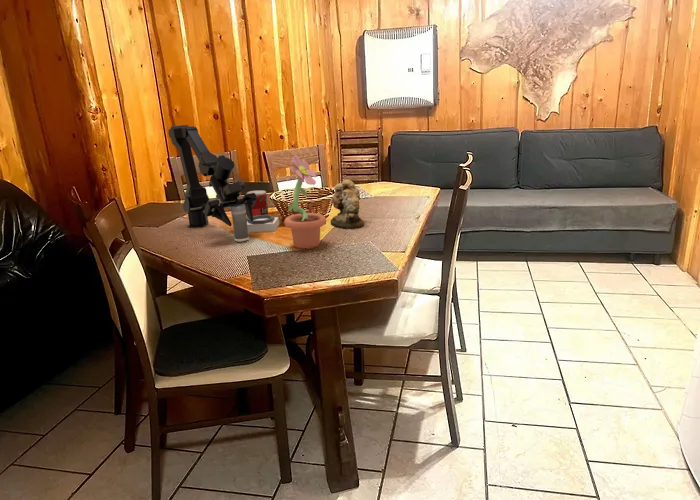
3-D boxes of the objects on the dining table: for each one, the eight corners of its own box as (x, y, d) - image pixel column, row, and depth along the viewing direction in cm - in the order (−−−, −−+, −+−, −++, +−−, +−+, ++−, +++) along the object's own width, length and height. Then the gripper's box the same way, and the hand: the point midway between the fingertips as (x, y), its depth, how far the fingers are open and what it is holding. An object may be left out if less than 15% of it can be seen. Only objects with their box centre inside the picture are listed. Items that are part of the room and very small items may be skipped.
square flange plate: (240, 232, 187) (238, 221, 185) (246, 225, 196) (245, 215, 195) (274, 231, 186) (273, 220, 185) (279, 224, 195) (278, 214, 194)
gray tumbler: (233, 243, 174) (228, 207, 170) (236, 239, 179) (232, 204, 175) (247, 242, 174) (243, 207, 170) (250, 238, 178) (246, 204, 174)
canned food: (265, 220, 203) (262, 193, 200) (246, 220, 205) (243, 194, 201) (271, 216, 210) (269, 190, 207) (253, 216, 212) (250, 190, 209)
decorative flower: (316, 254, 157) (309, 158, 148) (277, 251, 162) (268, 158, 153) (334, 240, 170) (328, 152, 161) (297, 238, 175) (290, 152, 166)
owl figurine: (323, 221, 198) (320, 178, 193) (349, 217, 202) (347, 175, 197) (342, 231, 182) (340, 184, 177) (371, 226, 187) (369, 181, 182)
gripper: (203, 177, 166) (223, 214, 161) (252, 169, 178) (272, 204, 173) (196, 198, 174) (215, 233, 169) (243, 189, 186) (262, 222, 181)
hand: (241, 223), depth 173 cm, fingers open, 8 cm apart
